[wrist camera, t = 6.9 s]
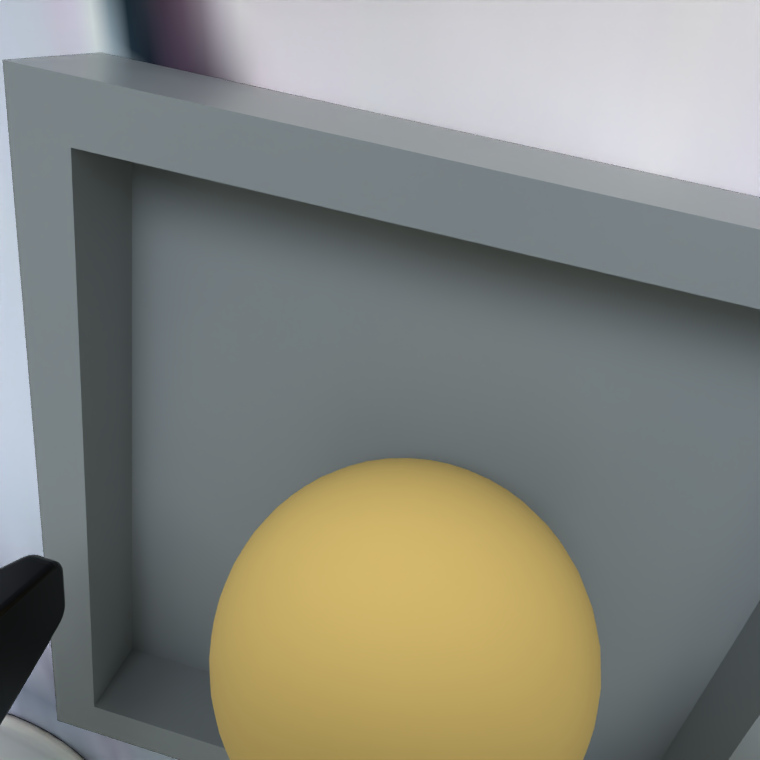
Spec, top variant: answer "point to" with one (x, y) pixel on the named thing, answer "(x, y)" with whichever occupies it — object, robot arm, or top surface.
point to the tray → (377, 377)
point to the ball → (404, 626)
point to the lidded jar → (31, 742)
